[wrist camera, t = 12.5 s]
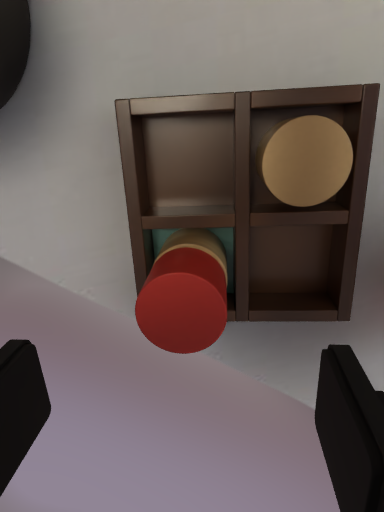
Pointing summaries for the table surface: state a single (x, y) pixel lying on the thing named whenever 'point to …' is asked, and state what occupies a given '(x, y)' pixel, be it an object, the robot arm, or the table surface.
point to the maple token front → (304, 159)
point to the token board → (247, 195)
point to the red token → (183, 301)
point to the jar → (13, 45)
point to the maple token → (197, 244)
